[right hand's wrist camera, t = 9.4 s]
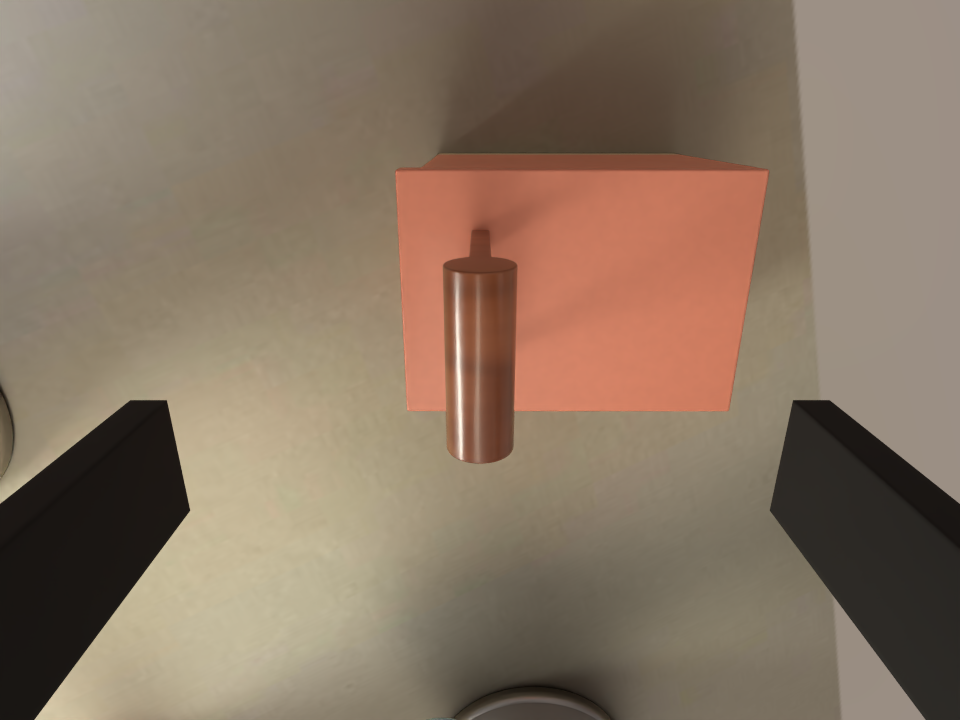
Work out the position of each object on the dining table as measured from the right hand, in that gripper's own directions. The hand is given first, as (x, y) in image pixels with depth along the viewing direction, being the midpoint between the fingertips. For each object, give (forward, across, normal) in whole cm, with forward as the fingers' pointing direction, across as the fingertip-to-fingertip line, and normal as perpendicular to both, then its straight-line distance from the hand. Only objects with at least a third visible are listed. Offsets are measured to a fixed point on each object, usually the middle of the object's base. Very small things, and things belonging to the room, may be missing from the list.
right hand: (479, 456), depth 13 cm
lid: (+13, -4, 0) cm, 14 cm away
